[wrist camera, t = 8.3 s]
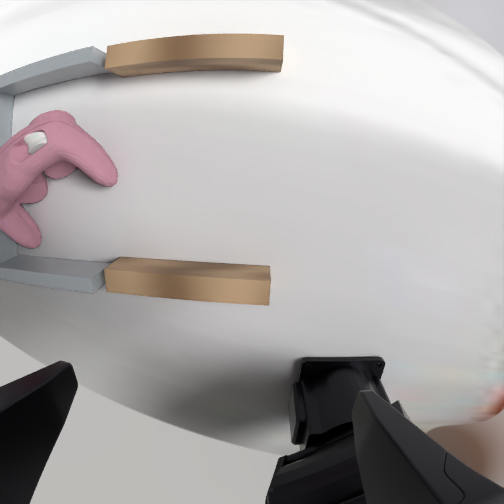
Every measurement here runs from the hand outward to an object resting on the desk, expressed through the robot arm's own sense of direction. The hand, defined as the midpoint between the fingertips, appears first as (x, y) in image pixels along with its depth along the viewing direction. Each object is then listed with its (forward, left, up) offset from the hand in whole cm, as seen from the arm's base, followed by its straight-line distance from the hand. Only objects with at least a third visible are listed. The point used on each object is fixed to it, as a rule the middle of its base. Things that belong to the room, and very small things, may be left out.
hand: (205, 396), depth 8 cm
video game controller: (+13, -5, -12) cm, 19 cm away
